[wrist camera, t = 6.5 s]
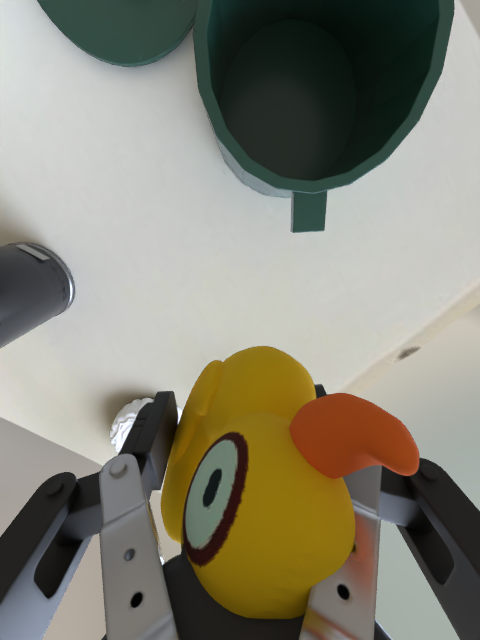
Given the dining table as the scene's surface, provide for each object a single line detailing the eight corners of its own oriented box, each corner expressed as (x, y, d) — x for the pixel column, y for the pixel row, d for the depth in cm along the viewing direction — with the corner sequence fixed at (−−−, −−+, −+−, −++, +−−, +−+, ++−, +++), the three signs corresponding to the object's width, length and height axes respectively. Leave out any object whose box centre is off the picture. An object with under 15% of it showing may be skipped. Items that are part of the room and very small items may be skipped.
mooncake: (102, 409, 41) (90, 427, 37) (169, 387, 39) (163, 403, 36) (141, 458, 45) (134, 478, 42) (203, 439, 43) (200, 458, 40)
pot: (222, 226, 30) (212, 238, 19) (201, -27, 21) (164, -252, 11) (349, 219, 29) (411, 226, 19) (378, -42, 21) (515, -287, 11)
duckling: (267, 271, 12) (348, 447, 3) (346, 328, 14) (559, 568, 5) (157, 416, 16) (51, 689, 7) (227, 450, 17) (215, 719, 8)
